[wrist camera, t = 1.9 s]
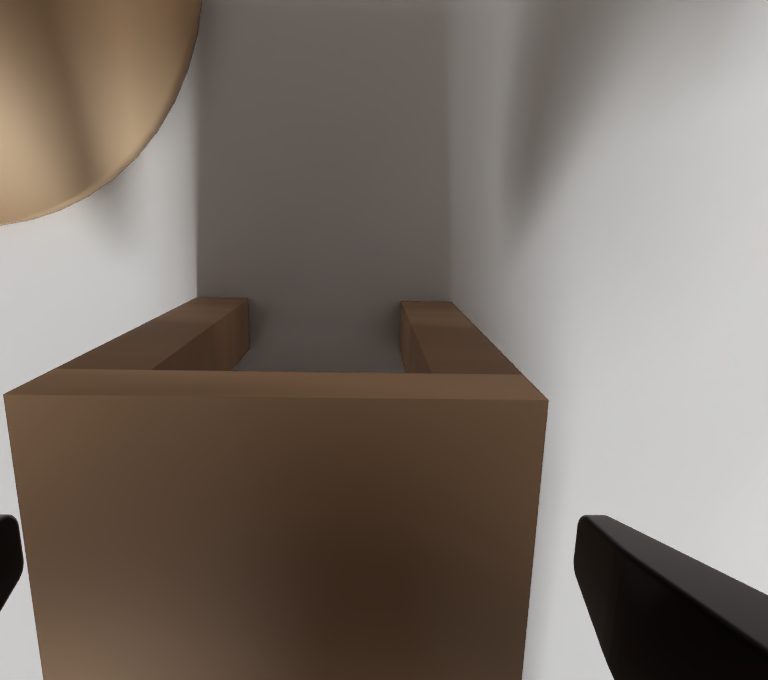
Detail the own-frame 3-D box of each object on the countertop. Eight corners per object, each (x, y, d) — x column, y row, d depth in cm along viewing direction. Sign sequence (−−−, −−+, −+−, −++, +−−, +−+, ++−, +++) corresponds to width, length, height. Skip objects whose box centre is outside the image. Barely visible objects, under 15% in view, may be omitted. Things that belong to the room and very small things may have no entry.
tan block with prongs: (439, 528, 14) (508, 812, 8) (209, 527, 14) (63, 822, 7) (451, 302, 13) (548, 400, 6) (196, 297, 13) (3, 394, 6)
